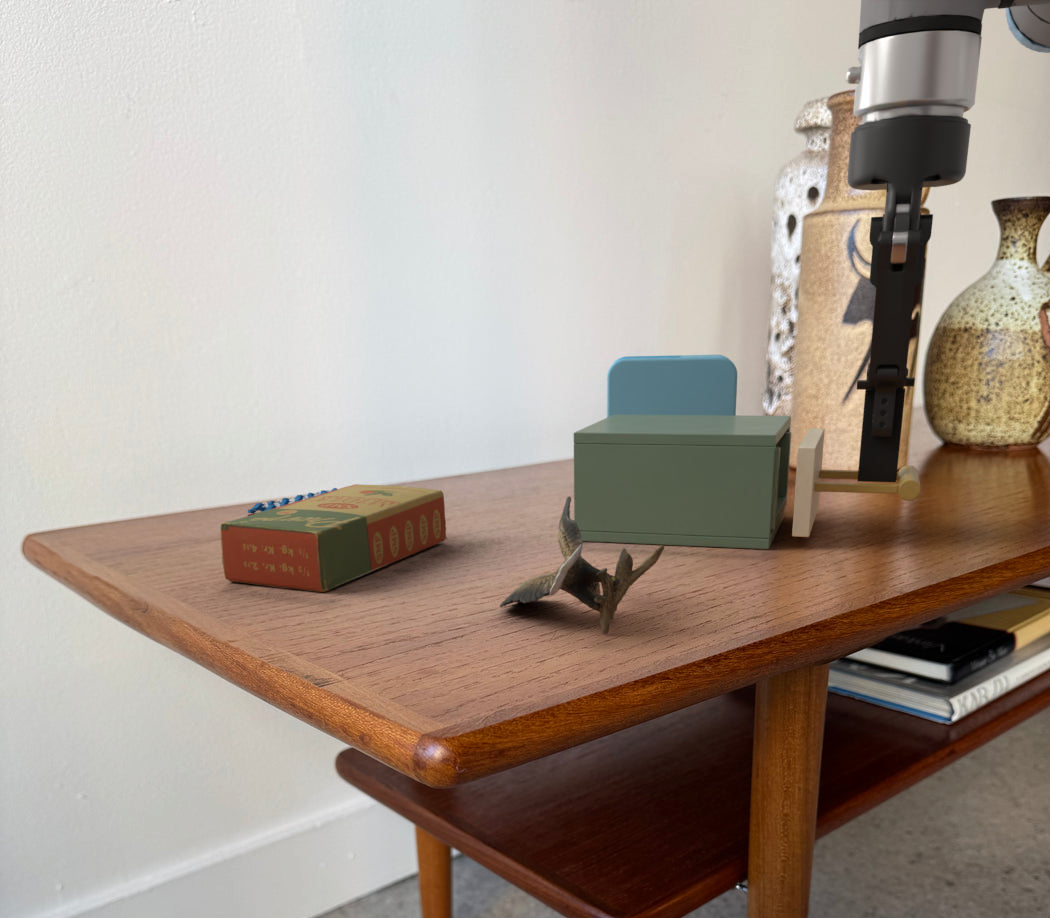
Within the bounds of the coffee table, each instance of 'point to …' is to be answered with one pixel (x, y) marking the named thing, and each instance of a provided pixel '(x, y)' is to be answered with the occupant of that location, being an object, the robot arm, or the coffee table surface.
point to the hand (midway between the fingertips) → (876, 479)
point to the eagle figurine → (583, 575)
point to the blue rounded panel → (672, 385)
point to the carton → (332, 536)
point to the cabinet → (678, 480)
